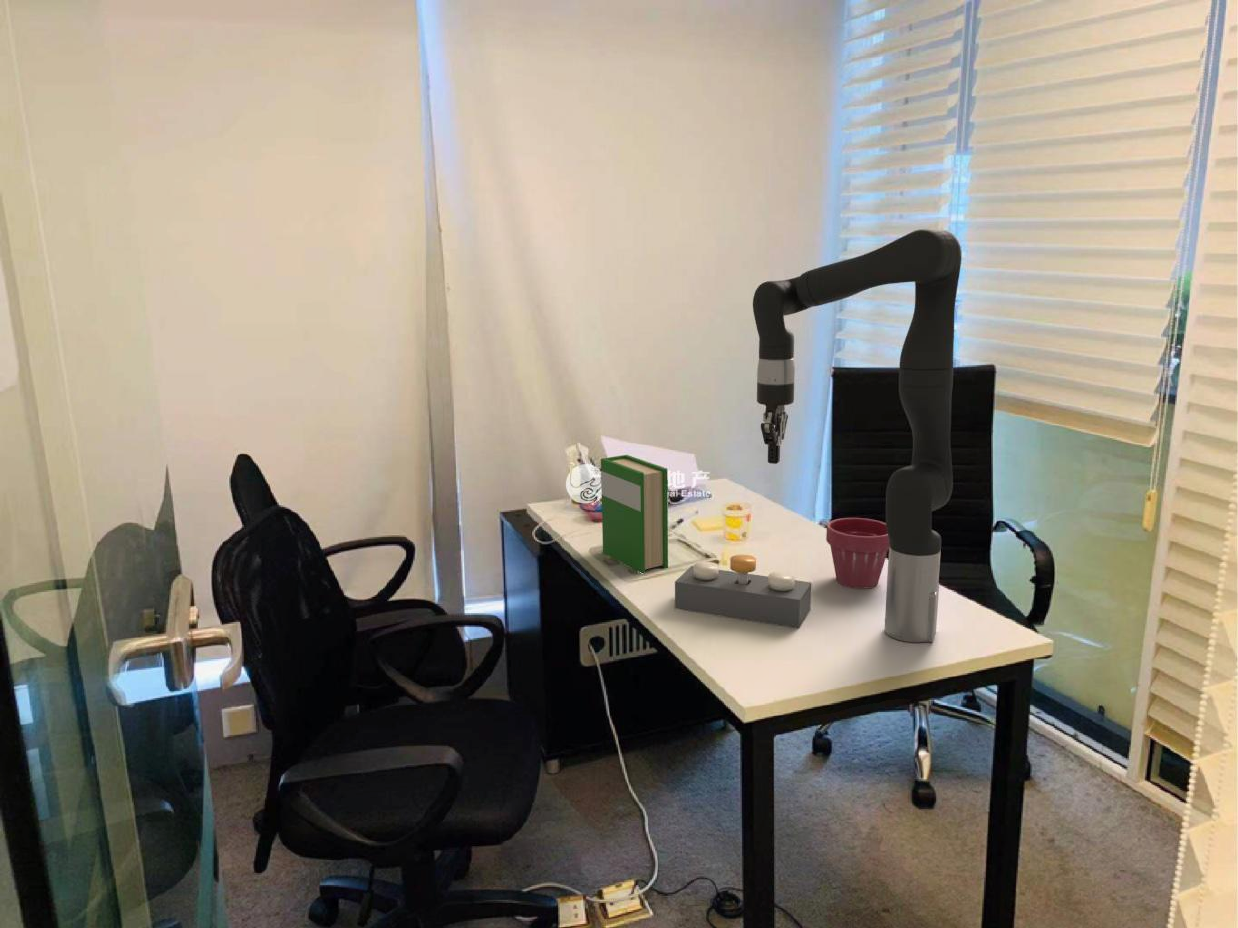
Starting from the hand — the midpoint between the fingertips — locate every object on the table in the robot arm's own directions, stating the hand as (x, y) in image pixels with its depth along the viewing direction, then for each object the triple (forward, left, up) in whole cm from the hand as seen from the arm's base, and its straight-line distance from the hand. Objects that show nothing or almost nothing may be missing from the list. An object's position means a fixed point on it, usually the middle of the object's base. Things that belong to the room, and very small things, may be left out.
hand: (773, 462), depth 183 cm
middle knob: (+3, +11, -25) cm, 27 cm away
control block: (+3, +11, -29) cm, 31 cm away
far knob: (+11, +11, -28) cm, 32 cm away
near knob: (-5, +11, -28) cm, 30 cm away
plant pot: (-16, -14, -29) cm, 36 cm away
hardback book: (+36, -8, -29) cm, 47 cm away
